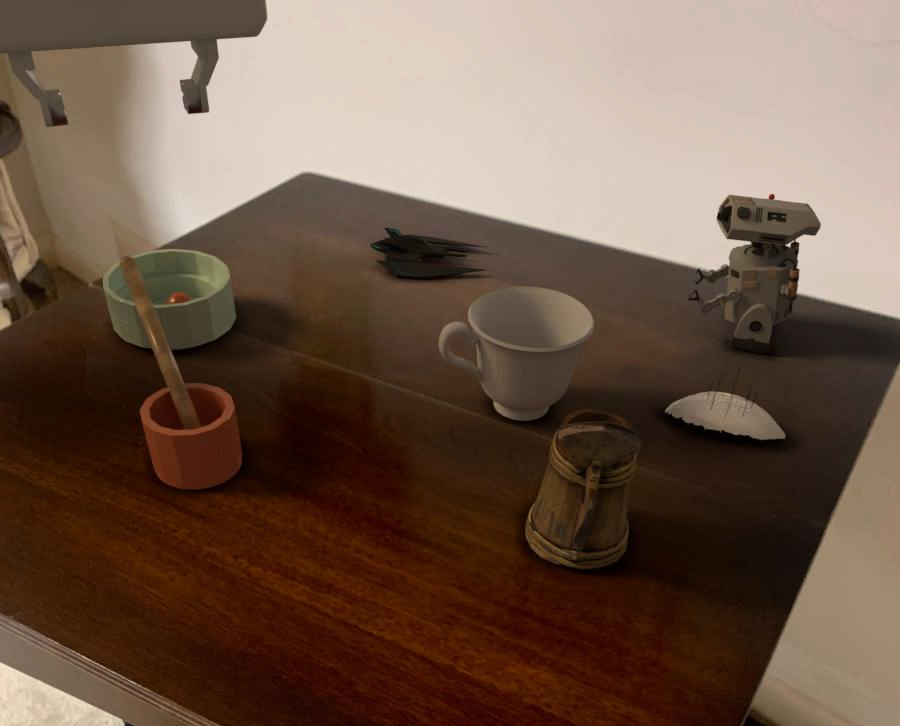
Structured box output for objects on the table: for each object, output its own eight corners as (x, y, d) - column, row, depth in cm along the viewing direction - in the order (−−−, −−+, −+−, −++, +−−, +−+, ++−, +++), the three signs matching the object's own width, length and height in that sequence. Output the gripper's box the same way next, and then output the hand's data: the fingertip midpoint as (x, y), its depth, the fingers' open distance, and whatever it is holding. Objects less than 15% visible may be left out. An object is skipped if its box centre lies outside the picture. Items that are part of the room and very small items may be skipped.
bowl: (96, 348, 95) (83, 300, 91) (139, 290, 104) (129, 244, 100) (216, 360, 94) (208, 312, 90) (249, 300, 104) (243, 254, 100)
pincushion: (786, 425, 90) (804, 377, 86) (779, 459, 86) (798, 410, 82) (670, 398, 93) (682, 350, 89) (658, 429, 89) (671, 381, 85)
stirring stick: (194, 460, 78) (114, 257, 79) (200, 463, 79) (122, 264, 81) (209, 453, 78) (128, 250, 79) (215, 456, 79) (136, 257, 81)
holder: (141, 485, 80) (126, 430, 75) (170, 432, 85) (158, 378, 81) (228, 494, 79) (218, 440, 75) (252, 440, 85) (244, 386, 81)
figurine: (685, 304, 107) (717, 176, 97) (781, 320, 106) (825, 192, 95) (677, 341, 101) (711, 209, 90) (780, 359, 99) (826, 226, 89)
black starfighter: (377, 235, 117) (377, 213, 115) (490, 245, 116) (492, 223, 114) (363, 274, 109) (362, 251, 107) (484, 285, 108) (485, 262, 106)
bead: (170, 296, 99) (166, 286, 96) (198, 300, 100) (194, 290, 97) (167, 322, 99) (163, 313, 96) (195, 326, 99) (191, 317, 96)
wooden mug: (511, 600, 72) (536, 414, 59) (531, 495, 81) (556, 314, 68) (620, 618, 71) (671, 433, 58) (628, 510, 80) (673, 330, 67)
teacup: (424, 381, 93) (425, 292, 86) (557, 368, 96) (570, 281, 89) (450, 449, 85) (455, 357, 78) (595, 433, 88) (613, 343, 81)
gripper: (240, -152, 56) (263, 89, 66) (-119, -152, 50) (-34, 115, 60) (268, -135, 52) (287, 118, 62) (-118, -134, 46) (-27, 149, 56)
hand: (128, 117), depth 61 cm, fingers open, 8 cm apart
